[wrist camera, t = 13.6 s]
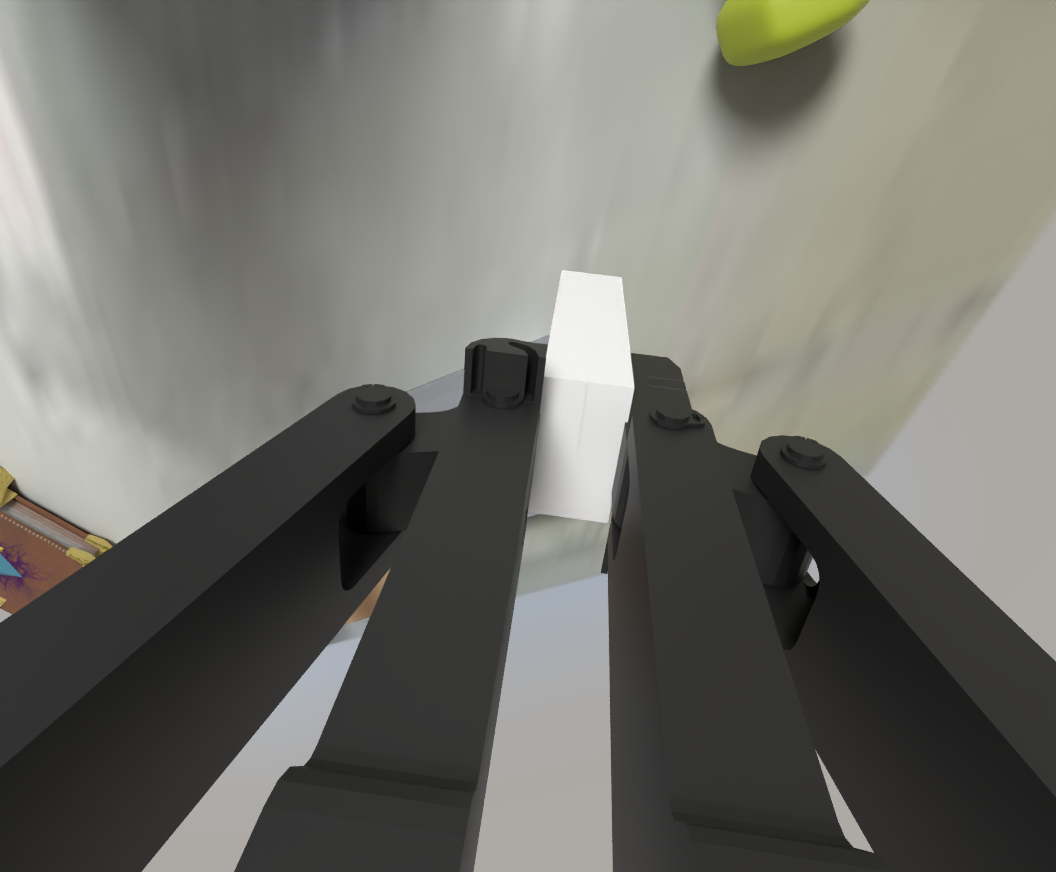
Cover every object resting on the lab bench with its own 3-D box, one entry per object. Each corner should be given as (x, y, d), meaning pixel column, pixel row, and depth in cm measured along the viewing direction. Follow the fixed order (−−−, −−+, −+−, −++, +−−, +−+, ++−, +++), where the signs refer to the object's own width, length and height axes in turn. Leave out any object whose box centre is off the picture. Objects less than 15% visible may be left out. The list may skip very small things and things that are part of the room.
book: (118, 635, 71) (86, 673, 66) (-114, 513, 65) (-165, 546, 61) (166, 551, 63) (133, 588, 58) (-93, 405, 57) (-150, 434, 53)
